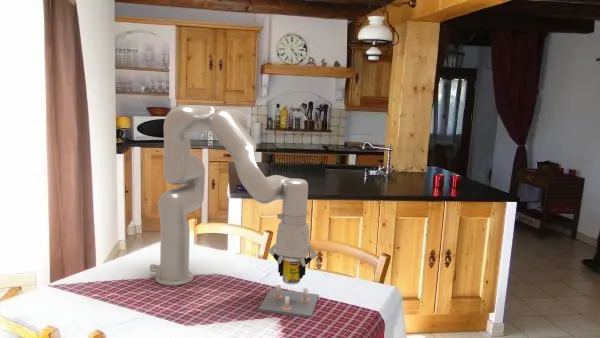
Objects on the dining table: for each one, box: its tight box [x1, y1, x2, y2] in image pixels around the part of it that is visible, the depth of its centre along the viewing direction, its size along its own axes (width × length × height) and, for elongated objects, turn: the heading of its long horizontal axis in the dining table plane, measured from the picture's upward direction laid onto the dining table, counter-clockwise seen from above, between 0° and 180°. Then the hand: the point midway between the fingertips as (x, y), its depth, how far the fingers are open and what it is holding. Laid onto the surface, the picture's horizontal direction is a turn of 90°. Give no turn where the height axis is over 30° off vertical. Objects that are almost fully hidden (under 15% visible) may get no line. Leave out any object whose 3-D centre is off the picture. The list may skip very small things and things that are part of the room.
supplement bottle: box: [282, 257, 301, 285], centre depth 154 cm, size 6×6×10 cm
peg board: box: [258, 284, 320, 319], centre depth 155 cm, size 16×16×4 cm
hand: (291, 275), depth 154 cm, fingers closed on supplement bottle, 5 cm apart
